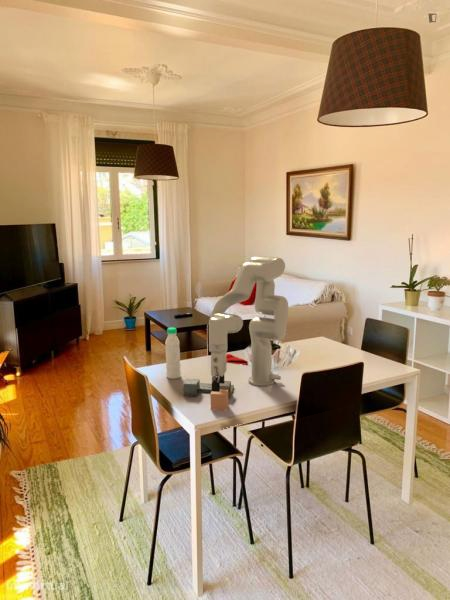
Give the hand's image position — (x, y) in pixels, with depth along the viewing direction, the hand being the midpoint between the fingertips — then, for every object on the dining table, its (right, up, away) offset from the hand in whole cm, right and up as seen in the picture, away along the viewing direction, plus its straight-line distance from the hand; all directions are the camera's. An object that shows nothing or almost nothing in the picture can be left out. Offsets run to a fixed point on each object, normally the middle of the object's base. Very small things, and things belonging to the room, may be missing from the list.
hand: (218, 387), depth 188 cm
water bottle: (-23, -3, +39) cm, 45 cm away
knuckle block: (+1, -9, +2) cm, 9 cm away
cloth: (+7, +2, +64) cm, 64 cm away
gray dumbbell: (-4, -6, +18) cm, 20 cm away
